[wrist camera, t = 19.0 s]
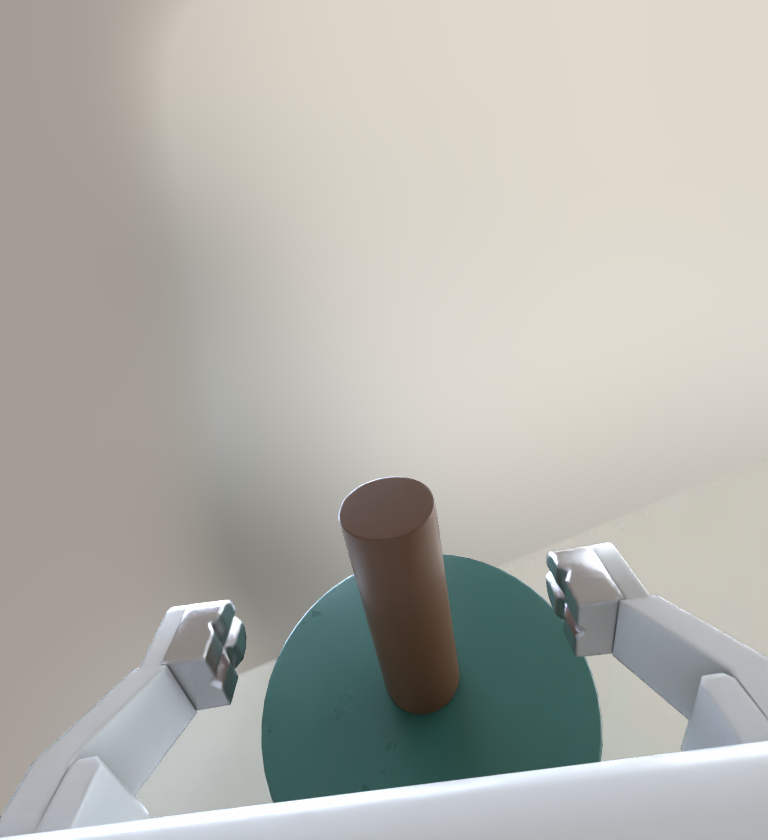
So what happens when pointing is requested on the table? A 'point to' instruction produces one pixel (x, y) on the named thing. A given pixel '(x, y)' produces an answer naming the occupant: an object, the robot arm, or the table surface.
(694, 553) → the table surface
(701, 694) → the robot arm
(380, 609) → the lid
